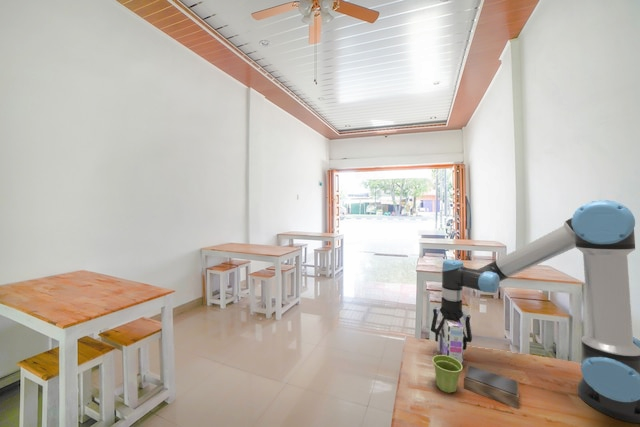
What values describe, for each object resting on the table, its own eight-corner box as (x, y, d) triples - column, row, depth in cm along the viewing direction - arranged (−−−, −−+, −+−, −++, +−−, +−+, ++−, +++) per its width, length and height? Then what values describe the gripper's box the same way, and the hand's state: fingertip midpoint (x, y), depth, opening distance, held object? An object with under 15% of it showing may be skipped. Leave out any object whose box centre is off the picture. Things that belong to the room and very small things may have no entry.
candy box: (463, 369, 101) (464, 327, 101) (446, 367, 103) (448, 325, 102) (453, 350, 115) (454, 312, 114) (438, 348, 116) (439, 311, 116)
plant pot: (463, 384, 93) (463, 360, 93) (460, 401, 85) (461, 374, 85) (434, 375, 98) (435, 352, 98) (429, 389, 90) (429, 364, 90)
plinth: (518, 392, 89) (518, 380, 89) (518, 408, 82) (518, 396, 82) (467, 374, 98) (468, 364, 98) (463, 387, 91) (464, 376, 91)
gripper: (482, 301, 105) (480, 357, 106) (428, 290, 117) (426, 341, 118) (479, 307, 99) (477, 366, 100) (423, 295, 111) (421, 348, 112)
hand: (450, 352), depth 109 cm, fingers closed on candy box, 8 cm apart
